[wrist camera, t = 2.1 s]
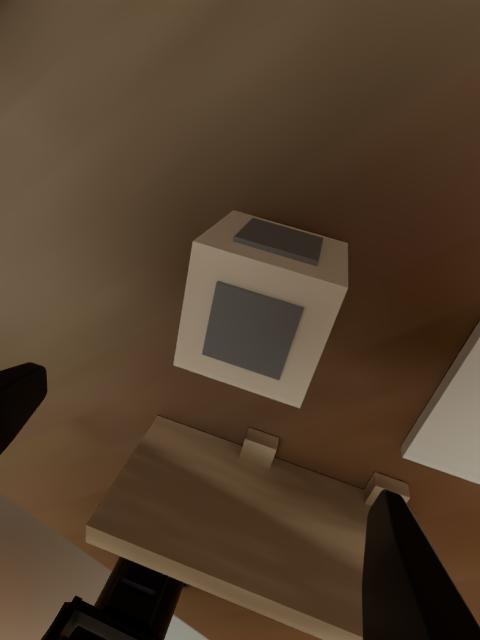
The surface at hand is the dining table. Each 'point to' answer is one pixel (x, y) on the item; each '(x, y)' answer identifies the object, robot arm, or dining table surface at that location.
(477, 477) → the cream square tile
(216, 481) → the oak screen
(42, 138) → the dining table surface
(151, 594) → the robot arm
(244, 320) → the cream grey-paneled cube
